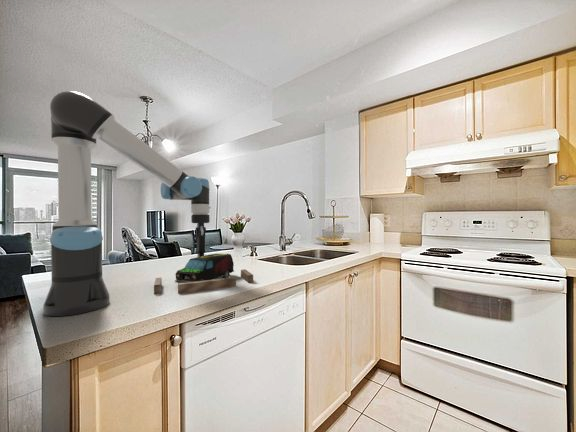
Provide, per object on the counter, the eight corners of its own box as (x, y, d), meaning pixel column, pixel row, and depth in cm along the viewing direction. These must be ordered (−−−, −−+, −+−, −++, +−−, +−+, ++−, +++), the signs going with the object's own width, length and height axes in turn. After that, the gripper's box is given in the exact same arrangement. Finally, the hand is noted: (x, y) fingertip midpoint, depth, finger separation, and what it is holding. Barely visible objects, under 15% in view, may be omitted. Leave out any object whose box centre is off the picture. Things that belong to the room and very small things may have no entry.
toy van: (173, 287, 99) (173, 260, 99) (215, 273, 122) (215, 251, 122) (196, 289, 95) (195, 262, 95) (235, 275, 118) (234, 252, 118)
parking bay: (153, 296, 87) (153, 287, 87) (155, 285, 101) (155, 277, 101) (255, 284, 101) (255, 276, 101) (245, 276, 115) (245, 269, 115)
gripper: (211, 213, 111) (212, 269, 111) (207, 214, 123) (207, 264, 122) (192, 213, 108) (193, 271, 108) (190, 214, 119) (190, 266, 119)
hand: (200, 268), depth 115 cm, fingers closed
